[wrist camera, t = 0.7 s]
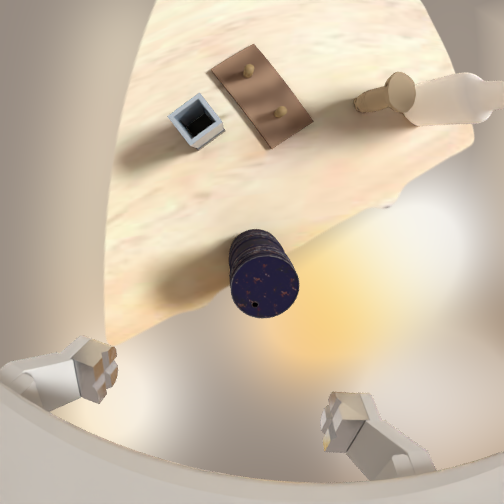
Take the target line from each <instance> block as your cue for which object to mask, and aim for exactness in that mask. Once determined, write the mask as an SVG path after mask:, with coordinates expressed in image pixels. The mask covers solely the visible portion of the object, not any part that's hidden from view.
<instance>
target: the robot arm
mask: <svg viewBox="0 0 504 504" xmlns="http://www.w3.org/2000/svg"><path fill="white" fill-rule="evenodd" d="M116 357H117V353H116V349H115V347H113V346H111V345H108V344H105V343H102V342H100V341H97V340H95V339H92V338H89V337H86V336H84V335H81V336H79V337H78V338H77V339H76V340H74V341H73V342H72V343H71V344H70V345H69V346H68V347H66V348H65V349H64V350H63V351H62V352H61V353H60V354H59V353H57V352H56V353H52V354H47V355H42V356H37V357H33V358H27V359H22V360H17V361H12V362H8V363H7V364H6V365H5V366H3V367H2V368H1V369H0V504H504V452H500V453H497V454H494V455H491V456H488V457H485V458H482V459H479V460H476V461H473V462H470V463H466V464H462V465H459V466H455V467H451V468H447V469H443V470H438V471H437V470H436V468H435V466H434V464H433V462H432V459H431V457H430V455H429V453H428V451H427V450H426V449H425V448H423V447H422V446H420V445H419V444H418V443H416V442H415V441H413V440H412V439H410V438H409V437H407V436H406V435H405V434H403V433H402V432H401V431H399V430H398V429H397V428H395V427H394V426H392V425H391V424H390V423H388V422H387V421H385V420H382V419H381V416H380V414H379V412H378V409H377V407H376V404H375V402H374V399H373V397H372V395H371V394H370V393H346V392H332V393H331V394H330V397H329V399H328V400H329V405H328V406H327V407H325V408H324V411H323V413H322V417H321V431H322V432H323V433H324V434H325V435H324V437H323V445H324V451H325V452H339V453H346V455H347V456H348V457H349V458H350V459H351V460H352V461H353V463H354V464H355V465H356V466H357V467H358V468H359V469H360V470H361V472H362V473H363V474H364V475H365V476H366V477H367V478H368V479H369V480H370V481H360V482H339V483H312V482H288V481H276V480H265V479H256V478H248V477H242V476H235V475H229V474H223V473H218V472H213V471H208V470H203V469H198V468H194V467H189V466H186V465H182V464H178V463H174V462H170V461H167V460H163V459H160V458H157V457H153V456H150V455H147V454H144V453H141V452H138V451H135V450H132V449H130V448H127V447H124V446H122V445H119V444H116V443H114V442H111V441H109V440H106V439H104V438H101V437H99V436H97V435H94V434H92V433H90V432H87V431H86V430H83V429H81V428H79V427H77V426H75V425H73V424H71V423H69V422H67V421H65V420H63V419H61V418H59V417H57V416H55V415H53V414H52V413H50V412H49V411H52V410H54V409H56V408H58V407H61V406H63V405H65V404H68V403H70V402H72V401H74V400H76V399H79V398H80V397H83V398H85V399H88V400H90V401H93V402H95V403H98V404H100V402H101V401H102V400H103V398H104V397H105V396H106V394H107V392H106V389H108V388H110V387H112V386H113V385H114V383H115V381H116V378H117V374H118V365H117V364H116V362H115V361H114V359H115V358H116Z"/></svg>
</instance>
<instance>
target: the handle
mask: <svg viewBox="0 0 504 504" xmlns="http://www.w3.org/2000/svg"><path fill="white" fill-rule="evenodd" d="M415 97H416V90H415V84H414V82H413V80H412V79H411V78H410V77H409V76H408V75H406V74H405V73H402V72H396V73H394V74H393V75H391V76H390V77H389V79H388V80H387V81H386V83H385V86H383V87H380V88H376V89H372V90H369V91H366V92H364V93H363V94H361V95H360V96H359V97H358V98H357V99H355V100H354V104H355V109H356V110H358V111H360V112H361V113H366V112H376V111H379V110H382V109H385V108H387V107H390V108H391V109H392V110H394V111H396V112H399V113H404V112H408V111H409V110H410V109H411V108H412V106H413V105H414V102H415Z"/></svg>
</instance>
